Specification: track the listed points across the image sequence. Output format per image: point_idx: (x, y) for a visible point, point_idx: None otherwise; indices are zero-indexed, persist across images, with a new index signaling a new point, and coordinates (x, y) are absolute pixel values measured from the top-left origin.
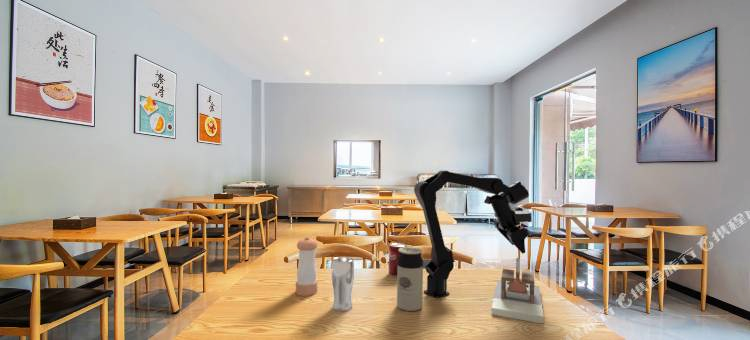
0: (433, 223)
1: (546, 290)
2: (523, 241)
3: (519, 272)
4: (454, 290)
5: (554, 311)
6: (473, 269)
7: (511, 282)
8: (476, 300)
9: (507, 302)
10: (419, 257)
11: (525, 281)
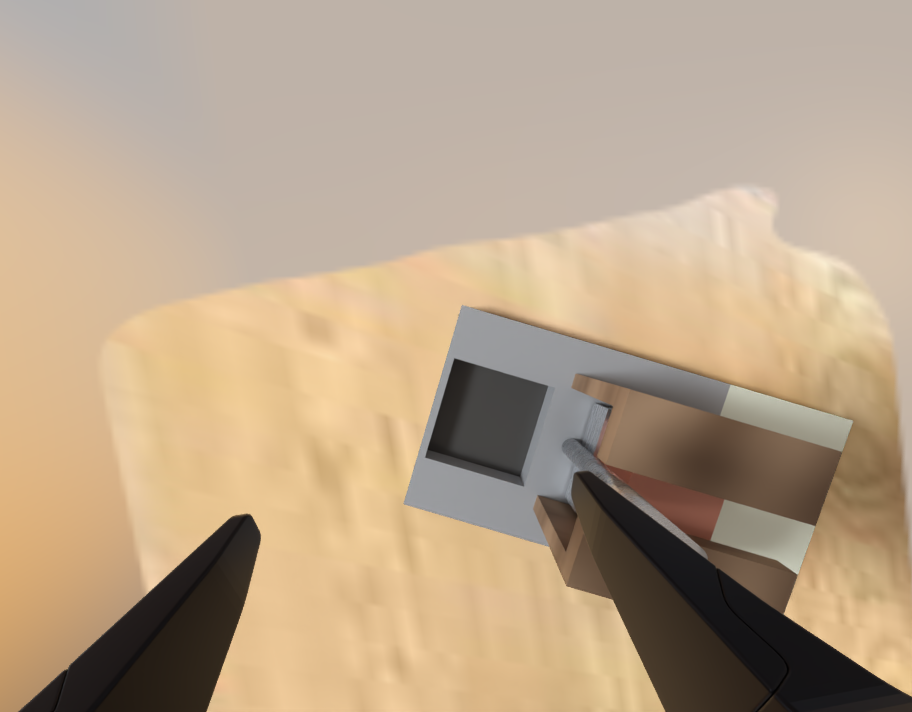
0: None
1: (437, 262)
2: (814, 657)
3: (627, 485)
4: (506, 702)
5: (695, 323)
6: (154, 560)
7: None
8: (615, 624)
9: (713, 531)
10: None
11: (815, 500)
